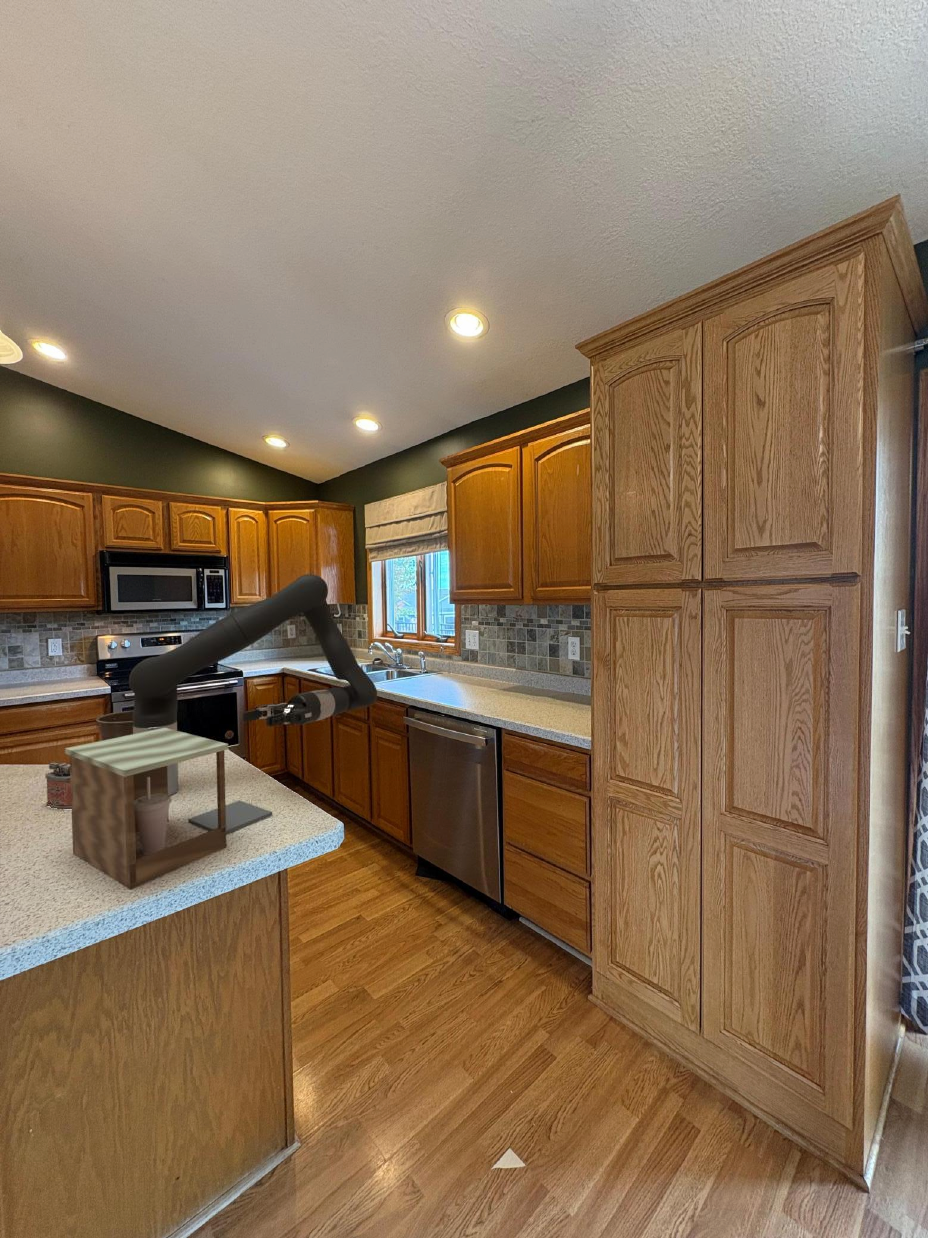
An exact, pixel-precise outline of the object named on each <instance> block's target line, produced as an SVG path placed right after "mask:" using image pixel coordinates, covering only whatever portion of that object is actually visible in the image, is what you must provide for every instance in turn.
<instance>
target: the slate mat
mask: <svg viewBox="0 0 928 1238" xmlns="http://www.w3.org/2000/svg"><path fill="white" fill-rule="evenodd" d="M225 805H226V836H227V835H230V834H231V833H233V832H235V831H238V830H239V831H240V830H241V829H243V828H246V827H249V826H250V825H252V824H253V825H254V824H256V823H258V822H260V821H263V820H265V819H267V818H270V817H272V816H273V811H271V810H268V809H265V808H262V807H259V806H257V805H253V804H251V803H248V802H245V801H243V800H237V801H233V802H231V803H229V804H225ZM187 823H188V824H190V825H192V826H194V827H195V826H196V827H198V828H199V829H202V830H205V831H206V832H208V831H211V830H213V829H216V828H218V807H217V808H215V809H212V810H209V811H206V812H203V813H201V814H198V815H195V816H193V817H189V818H187Z"/></svg>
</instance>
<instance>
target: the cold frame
mask: <svg viewBox="0 0 928 1238" xmlns="http://www.w3.org/2000/svg"><path fill="white" fill-rule="evenodd" d="M227 750H229V743H227V742H226V743H225V742H221V741H219V740H218V741H217V740H214V739H212V738H211V739H210V738H207V737H202V736H199V735H195V734H191V733H187V732H183V731H180V730H177V731H176V730H172V729H168V728H161V729H156V730H152V731H147V732H142V733H137V734H132V735H127V736H122V737H118V738H113V739H108V740H103V741H102V740H99V741H95V742H90V743H85V744H80V745H75V746H74V745H73V746H70V747H65V748H64V753H65V755H68V756H69V766H70V780H71V809H72V810H71V830H72V831H71V833H72V836H71V837H72V854H73V855H74V856H76V857H78V858H79V859H81V860H82V859H83V860H82V861H84V862H85V863H87V862H88V863H87V864H89V865H90V866H92V867H93V868H95V869H96V870H98V869H99V870H98V871H100V872H101V871H102V872H101V873H103V872H104V873H103V874H104V875H106V874H107V875H106V876H107V877H109V876H110V878H111V877H112V878H111V879H112V880H114V881H116V882H117V881H118V883H119V884H120V885H122V886H124V887H125V888H127V889H128V890H132V889H135V888H137V887H139V886H142V885H144V884H146V883H148V882H150V881H152V880H155V879H157V877H158V878H160V877H162V876H164V875H166V874H169V873H171V872H173V871H176V870H179V869H180V868H182V867H185V866H187V865H190V864H191V863H193V862H196V861H198V860H201V859H203V858H207V857H208V856H211V855H213V854H214V853H216V852H219V851H221V850H223V849H226V848H227V835H226V805H227V804H226V772H225V771H226V767H225V766H226V763H225V762H226V761H225V751H227ZM212 754H216V755H215V756H216V758H215V759H216V790H217V791H216V796H217V800H216V801H217V802H216V803H217V808H218V828H216V829H213V830H211V831H206V832H203V833H200V834H198V835H197V836H194V837H191V838H189V839H186V840H183V841H180V842H179V843H175V844H173V845H171V846H169V847H164V849H163V850H160V851H158V852H155V853H153V854H147V855H145V856H144V857H141V858H138V859H137V853H136V848H137V847H136V834H139V833H138V827H137V822H136V816H135V810H134V801H135V800H136V799H138V798H140V797H143V796H146V795H147V777H150V795H151V794H159V793H163V794H168V775H167V765H171V764H175V763H178V764H179V763H182V762H186V761H189V760H193V759H197V758H200V757H204V756H208V755H212ZM169 813H170V812H168V820H167V823H169V821H170V820H169V819H170V818H169ZM212 853H213V854H212Z"/></svg>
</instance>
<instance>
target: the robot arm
mask: <svg viewBox="0 0 928 1238" xmlns="http://www.w3.org/2000/svg"><path fill="white" fill-rule="evenodd" d="M328 595H329V588H328V584H327V582H326V581H325V579H323V578H322V577H320V576H319V575H317V574H310V573H308V574H303V575H301V576H299V577H297V578H296V579H295V580H294V581H292V582H291V583H289V584H288V585H287V586H285V587H284V588H282V589H280V590H279V591H278V592H276V593H275V594H272V595H271V596H268V597H266V598H264V599H262V600H259V601H256V602H254V603H252V604H250V605H247V606H245V607H243V608H241V609H239V610H235V611H234V612H232V613H230V614H229V615H226V616H225V617H222V618H220V619H218V620H217V621H216V622H214V623H212V624H211V625H209V626H207V627H206V628H204V629H203V630H201V631H200V632H199V633H197V634H196V635H195V636H193V637H192V638H190V639H189V640H187V641H186V642H184V643H183V644H181V645H180V646H177V647H176V648H173V649H171V650H169V651H167V652H164V653H162V654H160V655H158V656H152V657H148V658H145V659H143V660H142V661H139V663H137V664H136V665H135V666H134V667H133V669H132V670H131V672H130V674H129V679H128V685H129V688H130V689H131V691H132V692H133V693H134V694H133V695H134V706H133V711H134V712H133V734H137V733H142V732H147V731H152V730H156V729H161V728H168V729H172V730H176V731H178V722H177V721H178V719H177V718H178V717H177V716H178V685H180V683H182V682H184V680H186V679H188V678H189V677H191V676H192V675H194V674H195V673H198V672H199V671H201V670H202V669H205V668H208V667H209V666H212V665H214V664H216V663H219V662H220V661H223V660H225V659H227V658H229V657H231V656H233V655H234V654H237V653H239V652H240V651H242V650H244V649H246V648H247V647H250V646H252V645H253V644H255V643H256V642H258V641H259V640H261V639H262V638H264V637H266V636H267V635H269V634H270V633H272V632H273V630H275V629H276V628H278V627H279V626H280V625H282V624H284V623H285V622H287V621H288V620H290V619H293V618H295V617H296V616H299V615H300V614H303V616H304V618H306V620H307V621H308V624H309V625H310V627H311V629H312V631H313V633H314V634H315V637H316V638H317V641H318V643H319V645H320V647H321V650H322V652H323V654H324V657H325V659H326V661H327V663H328V665H329V667H330V669H331V671H332V673H333V675H334V677H335V679H337V680H339V681H346V682H347V683H348V685H346V686H342V687H331V688H326V689H319V690H312V691H311V690H310V691H307V692H302V693H296V694H294V695H292V696H291V697H290V698H289V700H288V702H282V703H279V704H278V703H277V702H273V703H268V704H262V705H257V706H254V708H253V710H248V711H244V712H243V713H242V722H245V723H248V722H252V721H257V720H262V719H264V720H265V725H266V726H267V727H269V728H271V727H274V726H278V725H288V724H290V725H292V726H294V725H298V726H301V725H302V726H303V725H305V724H309V723H313V722H317V721H321V720H325V719H326V718H328V717H332V716H336V715H339V714H342V713H346V712H350V711H355V710H359V709H363V708H367V707H371V706H372V705H374V704H375V702H376V701H377V698H378V691H377V688H376V685H375V683H374V682H373V680H372V679H371V677H369V675H368V674H367V673H366V672H365V671H364V669H363V668H362V667H361V666H360V665H359V664H358V661H357V659H356V657H355V655H354V652H353V651H352V649H351V647H350V645H349V643H348V641H347V640H346V638H345V636H344V634H342V632H341V629H340V628H339V627H338V626H337V624H336V622H335V619H334V618H333V616H332V614H331V611H330V608H329V605H328V602H327V598H328ZM167 775H168V794H169V795H170V796H172V795H174V794H175V793H177V792H178V791H179V788H180V787H179V763H175V764H171V765H167Z"/></svg>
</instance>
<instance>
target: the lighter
mask: <svg viewBox="0 0 928 1238" xmlns="http://www.w3.org/2000/svg"><path fill="white" fill-rule="evenodd" d="M48 769H49V770H52V771H49V772H47V773H45V779H46V793H47V794H46V796H47V799H46V801H47V802H46V803H45V804H46V807H47V806H50V807H51V808H57V809H71V780H70V764H69V765H68V763H67V762H63V763H59V762H50V763H49V765H48ZM51 808H50V809H51Z"/></svg>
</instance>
